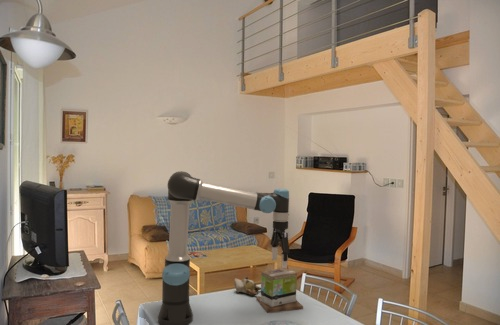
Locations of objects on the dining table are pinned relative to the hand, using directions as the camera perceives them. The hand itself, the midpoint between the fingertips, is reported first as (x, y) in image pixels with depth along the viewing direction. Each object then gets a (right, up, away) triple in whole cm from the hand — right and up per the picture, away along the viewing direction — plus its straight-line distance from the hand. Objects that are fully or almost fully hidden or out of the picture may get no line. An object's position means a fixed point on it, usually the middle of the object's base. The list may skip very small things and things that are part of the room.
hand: (279, 263), depth 197 cm
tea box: (0, -19, 0) cm, 19 cm away
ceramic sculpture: (-16, -20, +16) cm, 30 cm away
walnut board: (0, -20, 0) cm, 20 cm away
